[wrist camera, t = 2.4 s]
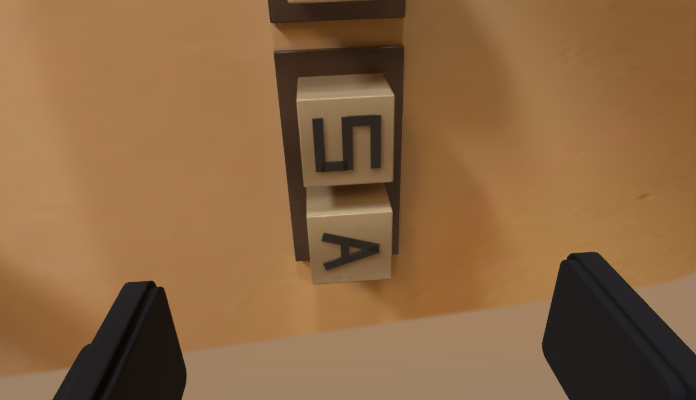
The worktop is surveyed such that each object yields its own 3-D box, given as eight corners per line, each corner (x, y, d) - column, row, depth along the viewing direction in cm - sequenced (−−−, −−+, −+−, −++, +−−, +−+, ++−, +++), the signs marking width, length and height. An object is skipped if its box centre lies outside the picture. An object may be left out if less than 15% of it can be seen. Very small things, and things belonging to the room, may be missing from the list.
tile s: (297, 76, 22) (296, 100, 19) (382, 72, 22) (395, 95, 19) (304, 155, 24) (304, 189, 20) (382, 150, 24) (393, 183, 21)
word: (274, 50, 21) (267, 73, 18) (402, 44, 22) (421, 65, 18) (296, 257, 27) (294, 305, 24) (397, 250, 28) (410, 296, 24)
